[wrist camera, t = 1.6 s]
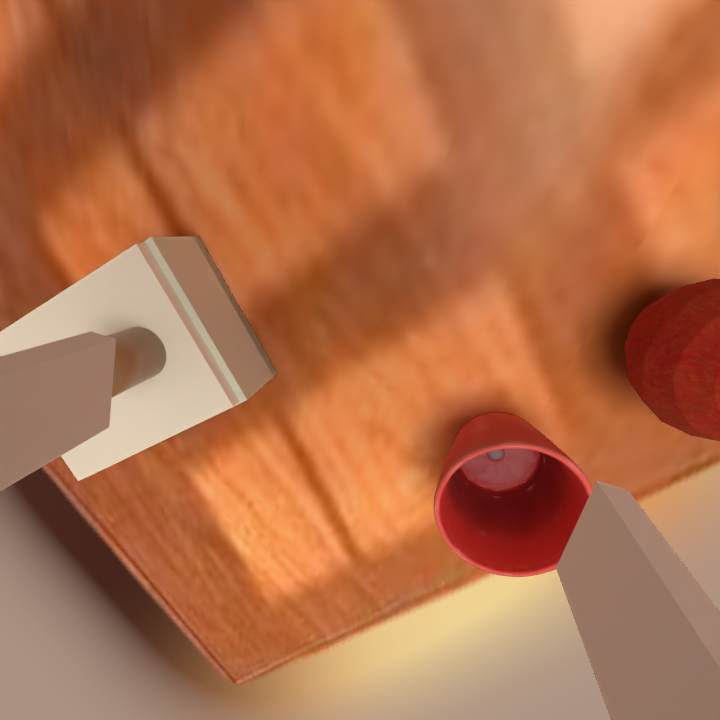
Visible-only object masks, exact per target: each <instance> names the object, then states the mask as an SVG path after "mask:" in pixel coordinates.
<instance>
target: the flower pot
mask: <svg viewBox="0 0 720 720" xmlns="http://www.w3.org/2000/svg"><path fill="white" fill-rule="evenodd" d="M592 489H593V488H592V485H591V483H590V481H589V480H588V478H587V477H586V475H585V474H584V472H583V471H582V470H581V469H580V468H579V467H578V466H577V465H576V464H575V463H574V462H573V461H572V460H571V459H570V458H569V457H568V456H567V455H566V454H565V453H564V452H562V451H561V450H560V449H559V448H558V447H557V446H556V445H554V444H553V443H552V442H551V441H550V440H549V439H548V438H546V437H545V436H544V435H543V434H541V433H540V432H539V431H538V430H536V429H535V428H534V427H532V426H531V425H530V424H529V423H528V422H526V421H525V420H523V419H521V418H519V417H517V416H515V415H512V414H508V413H500V412H493V413H487V414H483V415H480V416H477V417H476V418H474V419H472V420H470V421H469V422H467V423H466V424H465V425H464V426H463V427H462V428H461V429H460V431H459V432H458V434H457V436H456V438H455V440H454V442H453V445H452V447H451V449H450V452H449V454H448V457H447V459H446V462H445V464H444V467H443V470H442V473H441V476H440V479H439V482H438V485H437V489H436V492H435V497H434V515H435V520H436V523H437V526H438V529H439V531H440V533H441V535H442V537H443V538H444V540H445V541H446V543H447V544H448V545H449V547H450V548H451V549H452V550H453V551H454V552H455V553H456V554H457V555H459V556H460V557H461V558H462V559H464V560H465V561H467V562H468V563H470V564H471V565H473V566H475V567H477V568H479V569H482V570H484V571H487V572H489V573H493V574H497V575H502V576H510V577H525V576H533V575H538V574H543V573H546V572H549V571H552V570H555V569H556V567H557V565H558V562H559V560H560V558H561V556H562V554H563V552H564V550H565V547H566V545H567V543H568V541H569V539H570V537H571V535H572V532H573V530H574V528H575V526H576V524H577V522H578V519H579V517H580V515H581V513H582V511H583V509H584V507H585V504H586V502H587V500H588V498H589V496H590V494H591V492H592Z"/></svg>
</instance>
